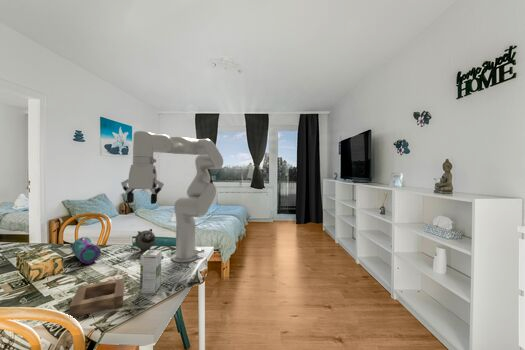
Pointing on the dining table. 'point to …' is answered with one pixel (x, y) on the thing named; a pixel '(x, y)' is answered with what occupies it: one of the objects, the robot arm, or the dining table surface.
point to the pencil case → (85, 250)
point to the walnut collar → (99, 303)
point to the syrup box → (150, 271)
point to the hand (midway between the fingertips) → (141, 203)
